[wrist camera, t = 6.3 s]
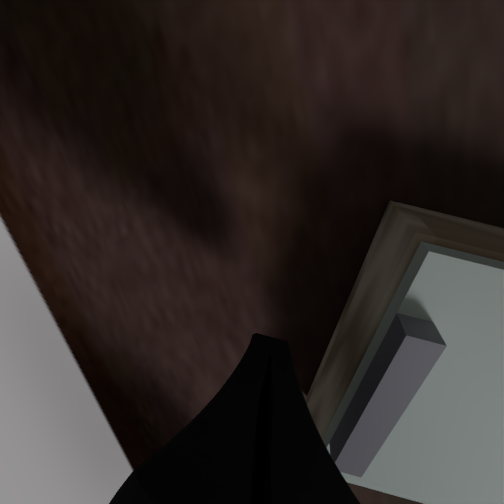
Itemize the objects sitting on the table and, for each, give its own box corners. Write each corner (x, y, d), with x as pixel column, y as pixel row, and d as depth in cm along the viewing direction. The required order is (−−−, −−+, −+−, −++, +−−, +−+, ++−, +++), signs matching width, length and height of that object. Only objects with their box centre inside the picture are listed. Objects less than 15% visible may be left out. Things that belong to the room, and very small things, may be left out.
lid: (537, 519, 15) (565, 570, 13) (313, 457, 15) (314, 499, 14) (771, 328, 10) (864, 375, 8) (421, 241, 10) (443, 269, 8)
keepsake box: (497, 448, 18) (536, 518, 15) (306, 396, 19) (307, 455, 16) (664, 267, 13) (777, 321, 10) (389, 200, 13) (415, 232, 10)
